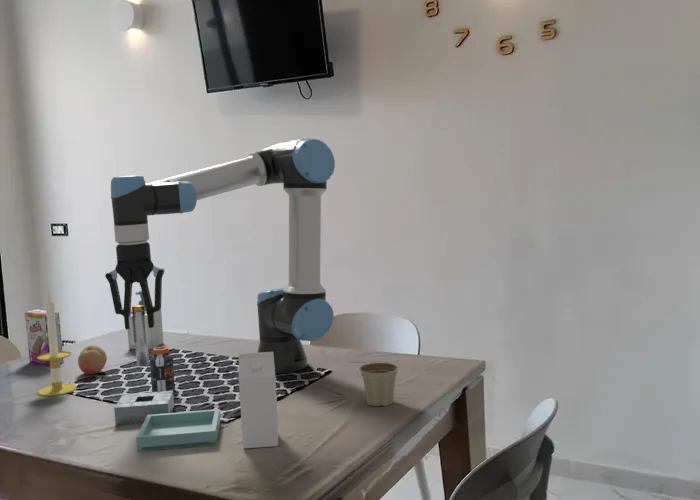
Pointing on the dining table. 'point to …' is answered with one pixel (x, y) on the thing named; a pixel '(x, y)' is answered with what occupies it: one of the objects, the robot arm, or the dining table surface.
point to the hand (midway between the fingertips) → (141, 341)
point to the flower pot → (379, 382)
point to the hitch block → (142, 406)
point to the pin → (140, 335)
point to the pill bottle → (162, 370)
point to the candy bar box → (40, 335)
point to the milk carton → (258, 400)
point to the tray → (179, 430)
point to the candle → (54, 357)
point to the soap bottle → (155, 331)
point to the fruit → (92, 360)
